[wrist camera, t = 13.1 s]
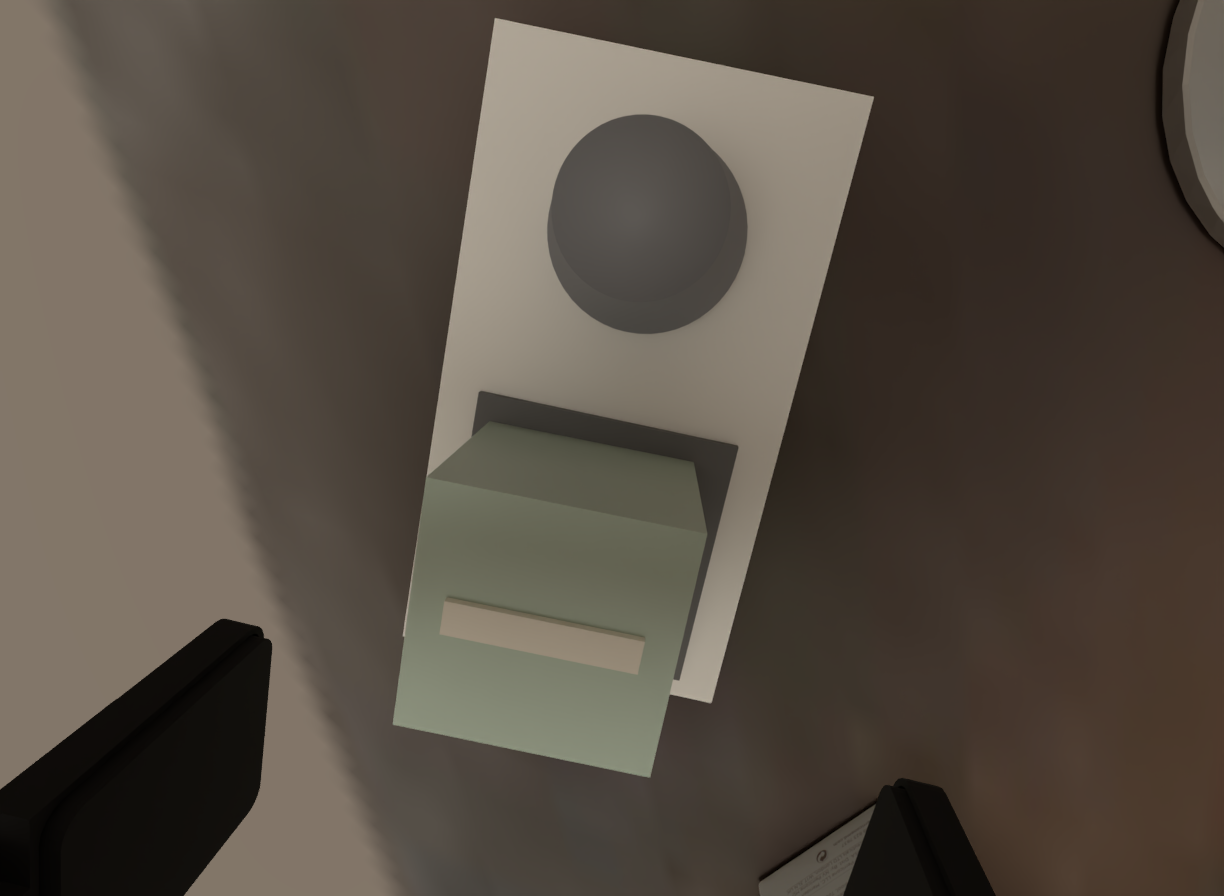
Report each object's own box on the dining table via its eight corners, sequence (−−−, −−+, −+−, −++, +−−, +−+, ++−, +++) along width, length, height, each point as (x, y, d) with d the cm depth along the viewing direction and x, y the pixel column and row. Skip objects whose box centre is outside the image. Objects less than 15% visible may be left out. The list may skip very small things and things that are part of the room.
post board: (506, 36, 20) (382, -159, 11) (858, 109, 20) (1024, -26, 11) (417, 614, 25) (275, 817, 16) (708, 677, 25) (738, 919, 15)
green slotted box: (693, 461, 21) (708, 537, 15) (652, 647, 23) (649, 783, 17) (489, 421, 21) (423, 479, 15) (461, 608, 23) (389, 730, 17)
